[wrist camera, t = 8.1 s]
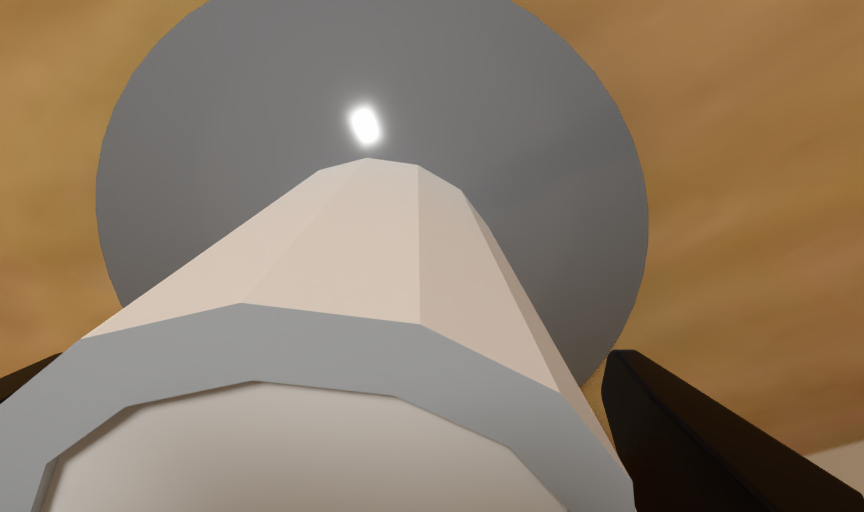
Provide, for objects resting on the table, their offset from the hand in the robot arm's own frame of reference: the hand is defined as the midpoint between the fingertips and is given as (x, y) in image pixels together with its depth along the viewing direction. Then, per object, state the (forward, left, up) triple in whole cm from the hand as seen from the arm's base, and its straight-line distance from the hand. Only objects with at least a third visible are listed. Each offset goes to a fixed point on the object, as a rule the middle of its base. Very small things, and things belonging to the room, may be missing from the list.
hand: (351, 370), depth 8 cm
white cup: (0, 0, -4) cm, 4 cm away
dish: (0, 0, -5) cm, 5 cm away
